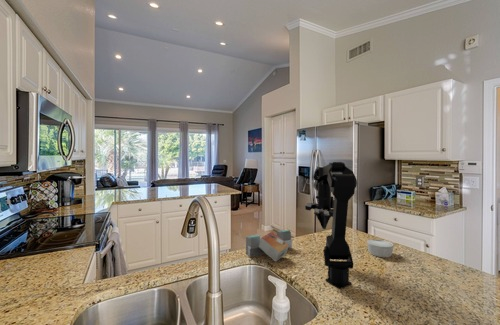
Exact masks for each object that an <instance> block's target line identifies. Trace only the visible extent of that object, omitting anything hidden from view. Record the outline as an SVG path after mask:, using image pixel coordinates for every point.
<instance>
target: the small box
mask: <svg viewBox="0 0 500 325" xmlns="http://www.w3.org/2000/svg"><path fill="white" fill-rule="evenodd" d="M260 238H261V241H260V243H259V247H260V248H261V249H262V250H263V251H264V252H265V253H266V254H265V255H267V256H268V257H269V258H270V259H272V260H273V261H274V263H276V262H278V261H280V259H282V258H283V257H284V256H285V255H287V252H288V250H289V249H288V248H289V245H288V244H287V243H286V242H284V241H283V240H282V239H281V238H279V237H278V236H277V233H275V232H273V231H271V232H268V233H267V234H265V235H264V236H262V237H260Z"/></svg>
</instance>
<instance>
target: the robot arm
mask: <svg viewBox="0 0 500 325" xmlns="http://www.w3.org/2000/svg"><path fill="white" fill-rule="evenodd" d="M312 178H313V181H314V182H313V186H312V187H313V188H314V190H316V191H317V195H315V199H317V203H315V202H309V203H306V204H305V206H304V209H305V210H306V211H311V210H314V212H313V214H315V216H316V218H317V220H318V222H319V224H320V226H321V228H322V230H326V229H327V226H328V223H329V221H330V220H331V218H332V222H331V223H332V224H331V234H330V235H327V236H326V242H325V246H324V248H323V256H324V257H323V258H324V266H326V267H327V277H328V278H325V281H326V282H327V283H329V284H330V285H333V286H334V287H336V288H337V289H340V290H341V289H343V288H345V287H349V286H351V285H352V284H353V283H352V282H351V281H350V276H349V275H350V269H351V270H352V269H354V262H353V261H354V260H353V257H352V253H351V250H350V245H349V243H348V242H347V240H346V233H347V222H348V220H347V219H348V211H349V201H350V200H351V198H352V197H353V196H354V195H355V192H356V188H357V186H358V180H357V178H356V175H355V173H354V171H353V170H351V169H350V168H349V167H347V166H346V164H345V163H344V162H342V161H331V162H329V164H327V165H324V166H323V165H319V166H316V168H315V170H314V172H313V175H312Z"/></svg>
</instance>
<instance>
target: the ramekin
mask: <svg viewBox="0 0 500 325" xmlns="http://www.w3.org/2000/svg"><path fill="white" fill-rule="evenodd" d="M366 244H367V250H368V252H369V253H370V254H371V255H373V256H375V257H378V258H390V257H391V256H392V255H393V251H394V247H395V245H394V243H392V242H391V241H387V240H384V239H378V238H371V239H367V240H366Z"/></svg>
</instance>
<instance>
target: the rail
mask: <svg viewBox="0 0 500 325" xmlns="http://www.w3.org/2000/svg"><path fill="white" fill-rule="evenodd" d="M283 241H284V242H286V243H287V244H288V245H289V248H288V250H289V249H292V248H293V241H294V239H293V238H291V239H288V240H283ZM262 255H267V254H266V253H265V252H264V251H263V250H262V249H261V248H260V247H259V245H258V246H253V247H251V246H248V254H247V257H248V258H253V257H258V256H262Z"/></svg>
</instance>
